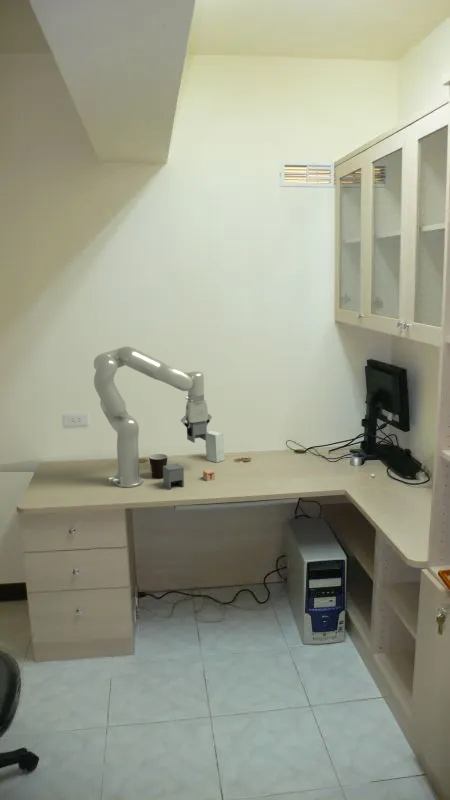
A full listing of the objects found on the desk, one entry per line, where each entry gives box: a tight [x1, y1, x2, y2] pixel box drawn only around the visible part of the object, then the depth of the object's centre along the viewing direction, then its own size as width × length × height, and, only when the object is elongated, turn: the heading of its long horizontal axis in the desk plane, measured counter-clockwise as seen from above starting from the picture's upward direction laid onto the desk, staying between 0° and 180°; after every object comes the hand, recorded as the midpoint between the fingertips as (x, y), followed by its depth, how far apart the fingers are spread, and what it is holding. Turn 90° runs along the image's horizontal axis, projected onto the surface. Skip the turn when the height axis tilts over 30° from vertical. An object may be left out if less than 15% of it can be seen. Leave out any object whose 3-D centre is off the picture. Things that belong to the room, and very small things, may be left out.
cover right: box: [186, 421, 208, 444], centre depth 277 cm, size 7×7×9 cm
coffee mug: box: [148, 453, 168, 480], centre depth 275 cm, size 12×9×10 cm
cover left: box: [162, 463, 185, 491], centre depth 262 cm, size 7×7×9 cm
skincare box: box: [205, 430, 226, 463], centre depth 298 cm, size 8×6×15 cm
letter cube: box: [202, 468, 216, 482], centre depth 271 cm, size 4×4×4 cm
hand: (196, 434), depth 278 cm, fingers closed on cover right, 7 cm apart
